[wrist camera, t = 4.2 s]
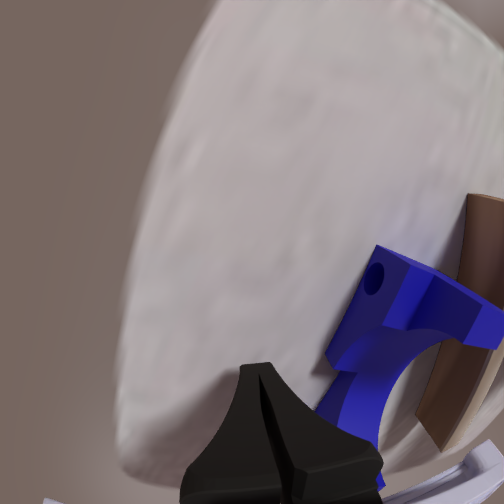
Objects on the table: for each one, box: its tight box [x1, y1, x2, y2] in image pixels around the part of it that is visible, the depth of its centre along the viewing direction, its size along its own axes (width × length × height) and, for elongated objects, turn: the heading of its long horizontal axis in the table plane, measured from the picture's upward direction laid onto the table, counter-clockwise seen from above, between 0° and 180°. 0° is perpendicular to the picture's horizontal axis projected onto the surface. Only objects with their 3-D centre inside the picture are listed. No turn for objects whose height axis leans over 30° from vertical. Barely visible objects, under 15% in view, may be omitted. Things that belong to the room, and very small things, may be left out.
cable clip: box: [315, 245, 504, 492], centre depth 12 cm, size 12×4×6 cm, turn 161°
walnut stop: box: [415, 193, 504, 453], centre depth 13 cm, size 2×16×4 cm, turn 3°
